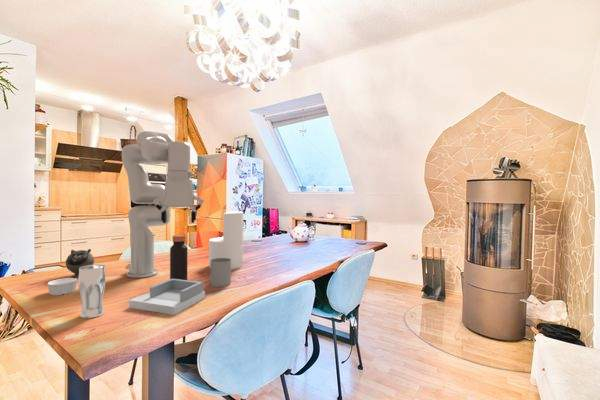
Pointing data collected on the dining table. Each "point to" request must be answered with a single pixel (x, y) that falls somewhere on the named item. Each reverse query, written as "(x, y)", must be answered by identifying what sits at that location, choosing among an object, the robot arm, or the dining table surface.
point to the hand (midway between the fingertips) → (178, 222)
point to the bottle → (178, 258)
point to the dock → (170, 296)
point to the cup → (220, 272)
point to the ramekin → (62, 286)
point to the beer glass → (92, 289)
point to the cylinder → (229, 240)
